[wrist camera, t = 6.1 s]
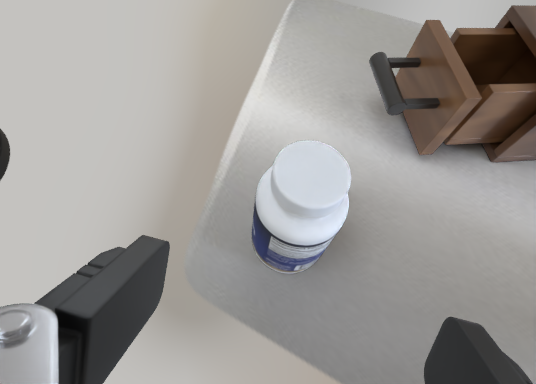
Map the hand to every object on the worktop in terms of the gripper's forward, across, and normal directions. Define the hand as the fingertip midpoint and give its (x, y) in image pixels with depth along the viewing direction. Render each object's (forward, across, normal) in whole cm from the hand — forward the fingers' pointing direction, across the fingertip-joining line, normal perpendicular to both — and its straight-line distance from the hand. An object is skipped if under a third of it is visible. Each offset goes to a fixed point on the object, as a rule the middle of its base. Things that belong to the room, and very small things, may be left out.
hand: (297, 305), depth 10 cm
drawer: (+25, -11, -7) cm, 28 cm away
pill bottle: (+15, 0, +5) cm, 16 cm away
